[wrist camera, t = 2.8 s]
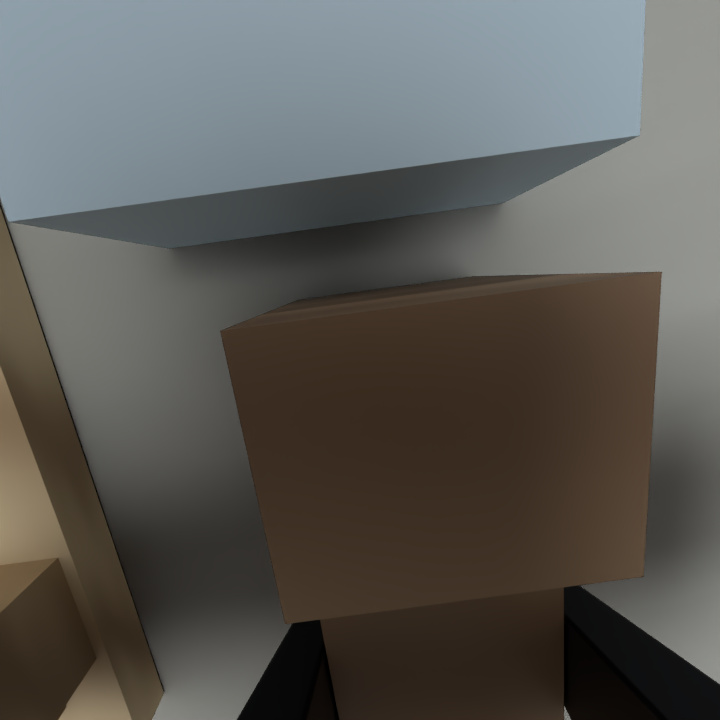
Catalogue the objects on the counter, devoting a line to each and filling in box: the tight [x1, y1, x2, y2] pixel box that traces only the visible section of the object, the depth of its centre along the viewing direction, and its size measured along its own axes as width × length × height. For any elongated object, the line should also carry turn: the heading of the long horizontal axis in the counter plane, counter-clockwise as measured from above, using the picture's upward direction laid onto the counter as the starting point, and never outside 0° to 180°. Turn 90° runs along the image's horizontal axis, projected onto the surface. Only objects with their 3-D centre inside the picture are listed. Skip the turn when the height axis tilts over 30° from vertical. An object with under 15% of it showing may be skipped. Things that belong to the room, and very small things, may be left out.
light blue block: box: [0, 0, 646, 249], centre depth 6 cm, size 4×8×4 cm, turn 97°
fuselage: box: [220, 272, 662, 720], centre depth 7 cm, size 13×4×5 cm, turn 7°
